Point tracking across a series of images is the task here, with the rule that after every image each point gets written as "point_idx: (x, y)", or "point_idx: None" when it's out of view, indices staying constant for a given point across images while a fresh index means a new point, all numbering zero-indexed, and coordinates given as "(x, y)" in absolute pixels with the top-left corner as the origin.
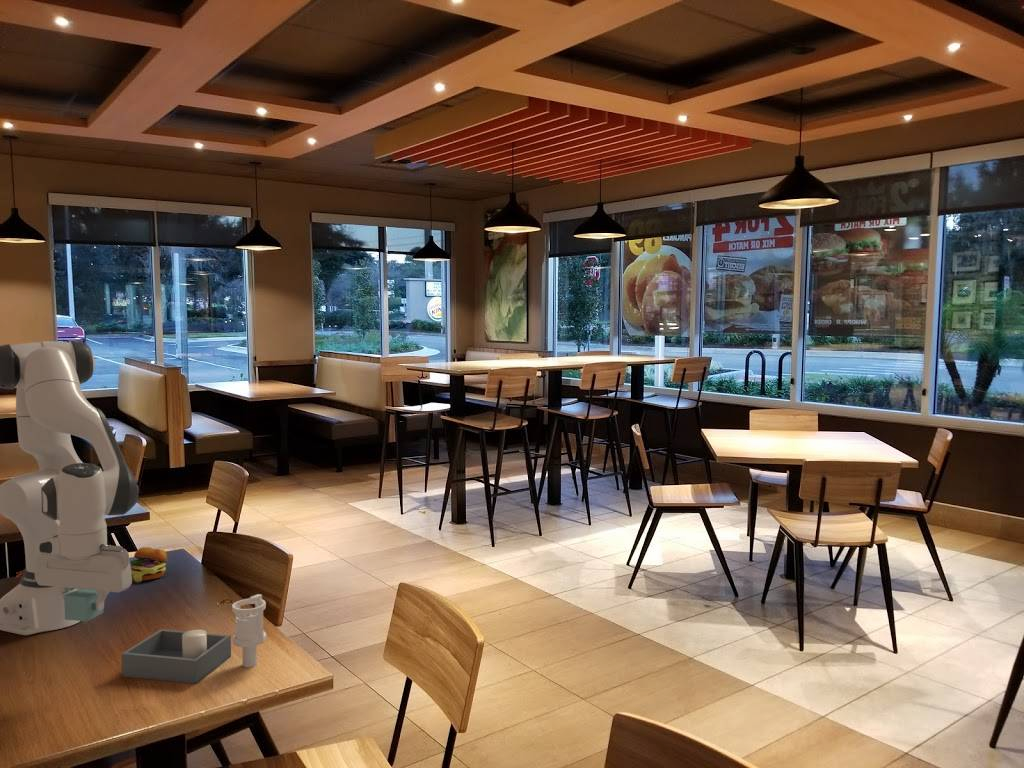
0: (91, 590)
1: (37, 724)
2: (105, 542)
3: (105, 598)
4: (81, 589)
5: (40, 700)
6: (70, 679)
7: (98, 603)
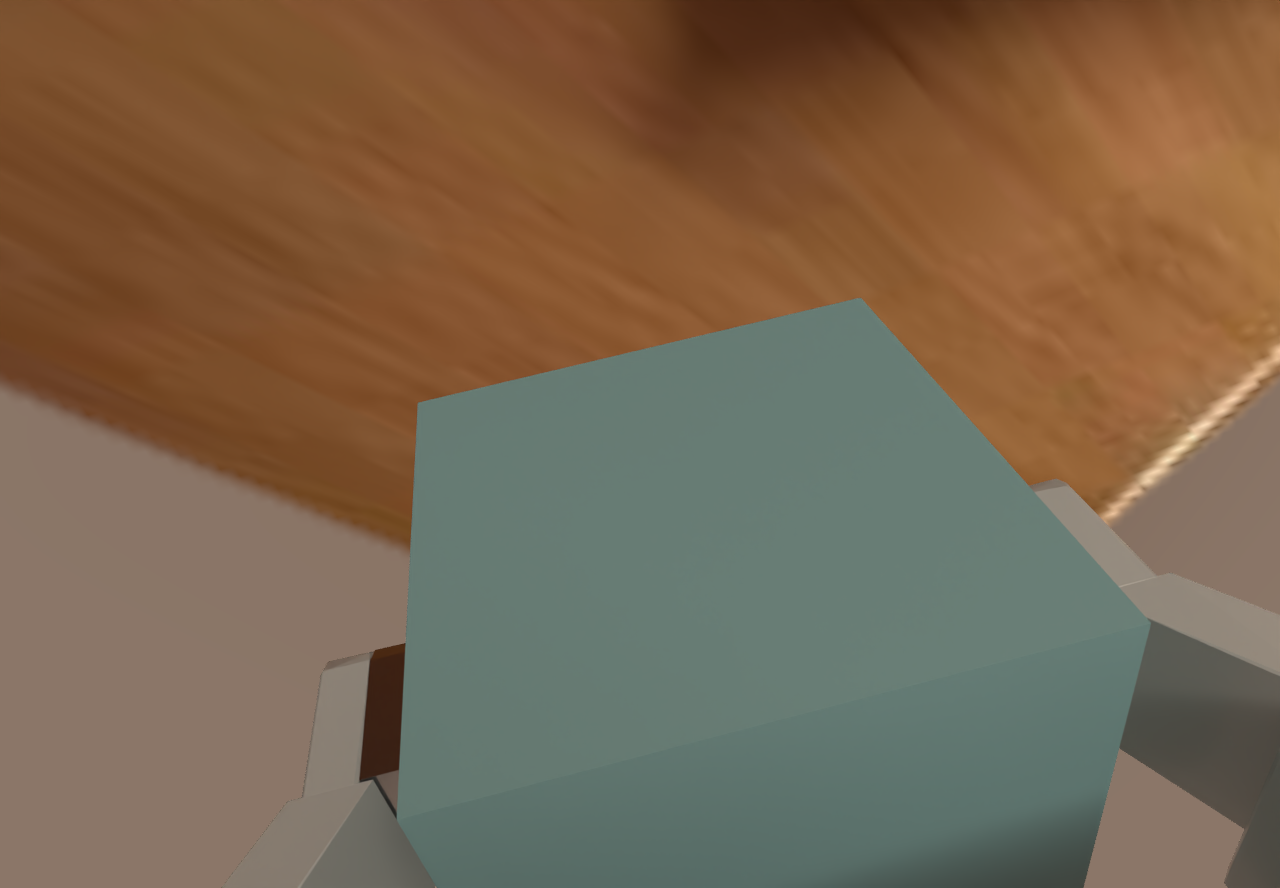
0: (871, 785)
1: None
2: None
3: (1222, 596)
4: (549, 874)
5: None
6: (337, 136)
7: None
